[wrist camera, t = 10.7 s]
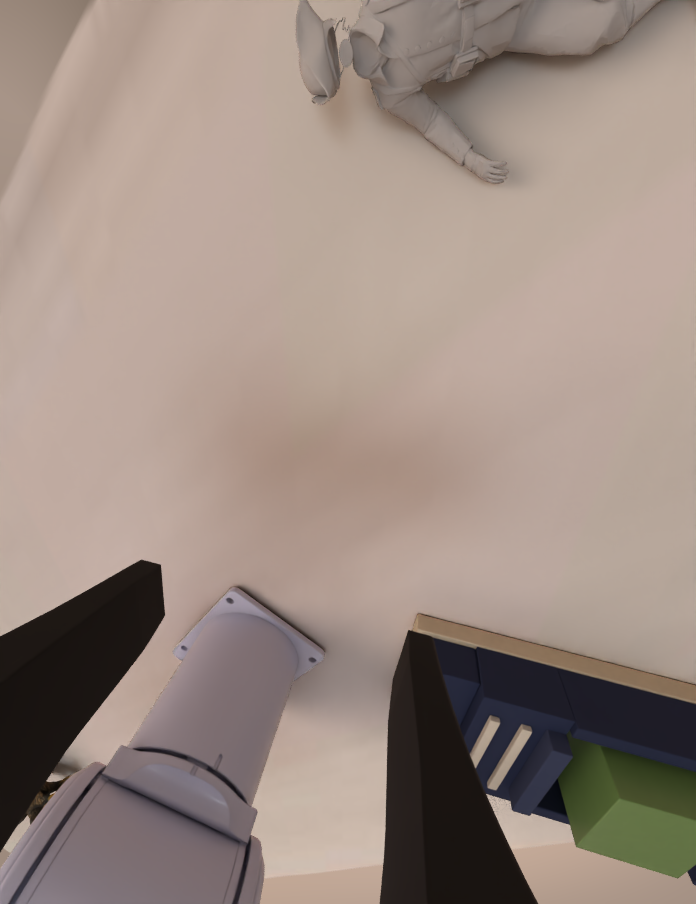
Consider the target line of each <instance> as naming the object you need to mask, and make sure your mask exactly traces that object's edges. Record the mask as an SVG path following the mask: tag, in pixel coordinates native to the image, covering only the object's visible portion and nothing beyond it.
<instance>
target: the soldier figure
mask: <svg viewBox="0 0 696 904" xmlns="http://www.w3.org/2000/svg"><path fill="white" fill-rule="evenodd" d="M660 1H661V0H362V6H361V8H360V11H359V19H358V20H357V21H356V23H355V25H354V26H353V27H352V29H351V30H350V26H348V29H349V37H350V41H349V38H348V39H344V40H343V41H342V42H341V44H340V49H339V56H340V60H341V62H342V65H343V69H344V67H348V66H350V65H351V63H352V59H353V67H354V70H355V71H356V73H357V74H358V76H360V77H362V78H364V79H369V80H370V82H371V84H372V88H371V89H372V90H373V93H374V95H375V97H376V100H377V104H378V106H379V108H380V109H381V110H383V109H386V110H387V111H388V112H390V113H392V114H393V115H395V116H397V117H399V118H401V119H403V120H404V121H405V122H406V123H408V124H411V125H413V126H414V127H415V128H416V129H418V130H419V131H420V132H421V133H422V134H423V135H424V137H425V138H426V139H427V140H429V141H430V142H432V143H433V144H434V145H436V146H437V147H438V148H439V149H441V150H442V151H443V152H444V153H446V154H447V155H449V156H450V157H451V158H452V159H453V160H455V161H456V162H458V163H459V164H460V165H461V166H463V165H465V166H466V167H467V168H468V169H469V170H470V171H471V172H474V173H475V174H476V175H477V176H478V177H480V178H481V179H483V180H485V181H487V182H490V183H503V182H504V180H502V179H506V178H507V176H505V175H495V174H506V173H508V172H509V171H508V170H504V169H502V170H501V169H496V168H494V167H497V166H505V165H507V162H499V161H492V160H490V159H488V158H486V157H485V156H484V155H482V154H478V153H474V152H473V145H472V143H471V141H470V140H469V139H468V138H467V137H466V136H465V135H464V134H463V132H462V131H461V130H460V129H459V128H457V126H456V124H455V123H454V122H453V120H452V119H451V118H450V117H449V116H448V114H447V113H446V112H444V111H443V110H442V109H441V108H440V107H439V106H438V104H437V103H435V102H434V101H432V100H431V99H430V97H429V96H428V94H427V93H425V92H424V91H423V89H422V88H421V87H422V86H423V85H424V84H426V83H427V82H429V81H431V80H434V79H437V82H447V81H451V80H455V79H459V78H462V77H463V76H466V75H468V74H469V71H471V70H472V69H473V67H474V65H476V64H477V63H479V62H482V61H483V60H484V59H485V58H490V59H491V58H493V57H495V56H497V55H500V54H501V53H502V52H503V51H510V52H519V53H536V54H542V55H547V56H553V55H591V54H593V53H594V52H595V51H596V50H597V49H598V48H600V47H601V46H602V45H605V44H607V45H609V44H613V43H616V42H619V41H620V40H622V39H623V37H624V36H625V34H626V32H627V30H629V29H630V28H631V27H632V26H633V25H634V24H635V23H636V22H637V21H638V20H639V19H640V18H641V17H642V16H643V15H644V14H645V13H646V12H647V11H649V10H650V9H651V8H652V7H653V6H654V5H656V4H657V3H658V2H660ZM343 18H344V23H345V17H343ZM343 18H342V20H343ZM342 20H340V21H341V22H342ZM340 21H339V22H340ZM339 22H338V24H339ZM335 23H336V19H335V20H332V19H327V20H325V21H324V22H323V21H322V20H321V19H320V17H319V16H318V15H317V14H316V13H315V12H314V10H313V9H312V8H311V6H310V5H309V3H308V1H307V0H300V1H299V6H298V11H297V16H296V42H297V47H298V50H299V66H300V71H301V75H302V79H303V81H304V83H305V85H306V87H307V89H308V90H309V92H310V93H311V94H313V95H318V96H315V97H314V98H312V102H313V103H317V104H318V105H323V104H325V103H326V102H327V101H329V100H330V98H332V97H334V96H335V94H336V92H337V89H339V88H340V87H339V86H340V77H341V75H340V68H339V59H338V50H337V43H336V37H335V31H336V29H335V31H334V28H333V26H334V24H335ZM344 23H343V28H344V29H345V30H346V27H344ZM338 24H337V26H338ZM337 26H336V28H337ZM344 29H343V30H344ZM348 29H347V31H348ZM347 31H346V32H347ZM343 69H342V72H343ZM342 72H341V74H342ZM492 166H494V167H492ZM493 173H494V174H493Z"/></svg>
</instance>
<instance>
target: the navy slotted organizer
mask: <svg viewBox="0 0 696 904" xmlns="http://www.w3.org/2000/svg"><path fill="white" fill-rule="evenodd" d="M412 631H414V632H418V633H422V634H426V635H429V636H432V638H433V639H434V642H435V647H436V651H437V655H438V659H439V663H440V666H441V670H442V674H443V677H444V680H445V684H446V687H447V690H448V693H449V697H450V700H451V703H452V706H453V709H454V712H455V714H456V717H457V720H458V723H459V726H460V729H461V732H462V734H463V737H464V740H465V743H466V745H467V748H468V751H469V753H470V756H471V758H472V761H473V763H474V766H475V768H476V771H477V773H478V776H479V778H480V781H481V783H482V786H483V788H484V790H485V793H486V794H489V795H492V796H495V797H499V798H502V799H505V800H509V801H511V807H512V810H513V811H515V812H518V813H522V814H525V815H528V816H530V815H531V814H532V813H533V814H536V815H539V816H542V817H546V818H549V819H552V820H556V821H559V822H562V823H566V824H569V825H570V822H569V819H568V815H567V811H566V808H565V804H564V800H563V797H562V793H561V789H560V786H559V782H558V777H559V776H560V774H561V773H562V772H563V770H564V769H565V767H566V766H567V765H568V763H569V762H570V761H571V759H572V758H573V754H572V751H571V748H570V745H569V741H568V738H567V733H568V732H569V730H570V732H571V736H572V737H573V738H576V739H580V740H583V741H587V742H590V743H594V744H597V745H601V746H605V747H608V748H612V749H615V750H619V751H622V752H626V753H630V754H633V755H637V756H640V757H644V758H647V759H651V760H655V761H658V762H662V763H665V764H669V765H672V766H676V767H680V768H683V769H687V770H690V771H694V772H696V685H692V684H688V683H684V682H680V681H676V680H673V679H669V678H665V677H661V676H657V675H653V674H649V673H645V672H642V671H638V670H634V669H630V668H626V667H622V666H618V665H614V664H611V663H607V662H603V661H599V660H595V659H591V658H587V657H583V656H580V655H576V654H572V653H568V652H564V651H560V650H556V649H552V648H549V647H545V646H541V645H537V644H533V643H529V642H525V641H521V640H518V639H514V638H510V637H506V636H502V635H498V634H494V633H490V632H487V631H483V630H479V629H475V628H471V627H467V626H463V625H459V624H456V623H452V622H448V621H444V620H440V619H436V618H432V617H428V616H425V615H421V614H418V615H417V617H416V621H415V624H414V627H413V630H412ZM390 701H391V700H390ZM687 872H688V874H689V876H690V878H691V881H692V883H693V884H694V885H696V865H695V866H693V867H692V868H691V869H690V870H688V871H687Z"/></svg>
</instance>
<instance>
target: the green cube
mask: <svg viewBox="0 0 696 904" xmlns="http://www.w3.org/2000/svg"><path fill="white" fill-rule="evenodd" d="M567 738H568V741H569V745H570V748H571V751H572V754H573V758H572V759H571V761H570V762H569V763H568V765H567V766H566V767H565V769H564V770H563V772H562V773H561V774H560V776H559V777H558V782H559V786H560V789H561V793H562V797H563V800H564V804H565V808H566V811H567V815H568V819H569V822H570V826H571V830H572V834H573V837H574V841H575V845H576V847H578V848H581V849H585V850H588V851H591V852H594V853H598V854H600V855H604V856H607V857H610V858H614V859H617V860H620V861H623V862H627V863H630V864H633V865H636V866H639V867H643V868H646V869H649V870H653V871H656V872H659V873H662V874H665V875H668V876H672V877H675V878H679V877H680V876H682V875H683V874H684V873H686V872H687V871H688V870H690V869H691V868H692V867H693V866H695V865H696V772H694V771H690V770H687V769H683V768H680V767H676V766H672V765H669V764H665V763H662V762H658V761H655V760H651V759H647V758H644V757H640V756H637V755H633V754H630V753H626V752H622V751H619V750H615V749H612V748H608V747H605V746H601V745H597V744H594V743H590V742H587V741H583V740H580V739H576V738H573V737H572V736H571V732H570V730H569V732H568V733H567Z"/></svg>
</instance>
